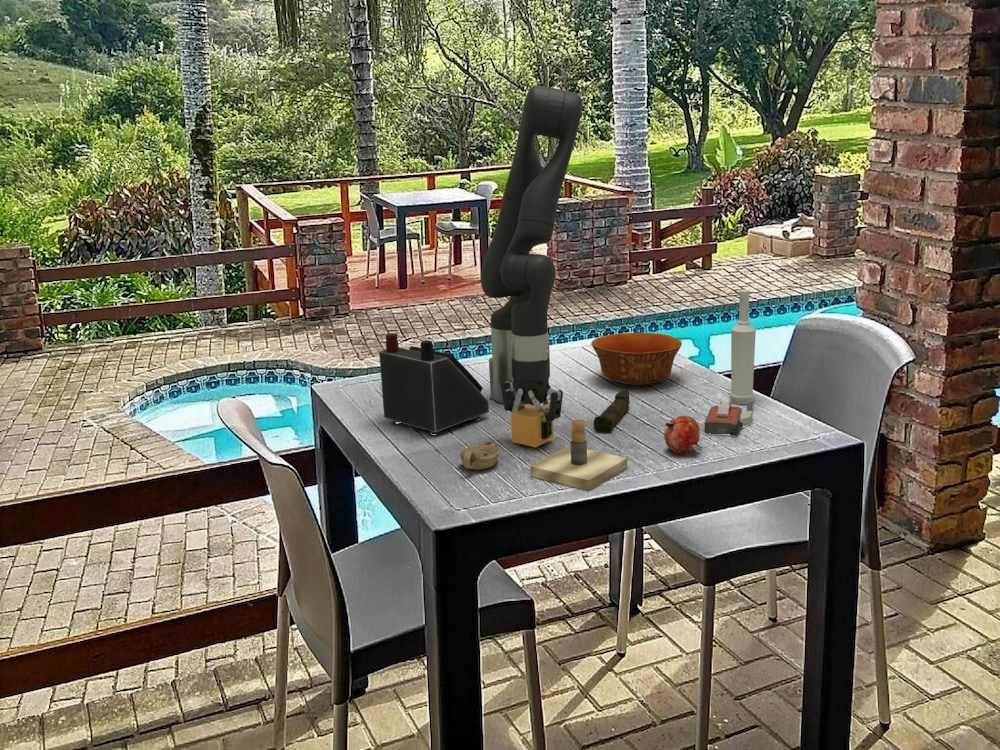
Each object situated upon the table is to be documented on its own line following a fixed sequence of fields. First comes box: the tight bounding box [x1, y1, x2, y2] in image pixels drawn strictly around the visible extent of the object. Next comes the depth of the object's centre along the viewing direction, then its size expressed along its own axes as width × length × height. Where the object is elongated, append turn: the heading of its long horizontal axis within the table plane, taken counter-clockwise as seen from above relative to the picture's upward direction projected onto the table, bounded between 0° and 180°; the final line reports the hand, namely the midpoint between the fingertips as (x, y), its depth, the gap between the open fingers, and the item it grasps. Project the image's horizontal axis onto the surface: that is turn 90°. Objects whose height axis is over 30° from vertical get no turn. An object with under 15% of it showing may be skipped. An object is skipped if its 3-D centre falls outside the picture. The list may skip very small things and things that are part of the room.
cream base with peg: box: [529, 418, 628, 491], centre depth 195 cm, size 13×13×10 cm
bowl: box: [590, 332, 683, 386], centre depth 250 cm, size 21×21×10 cm
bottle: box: [729, 289, 757, 405], centre depth 229 cm, size 5×5×25 cm
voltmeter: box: [378, 333, 490, 435], centre depth 226 cm, size 16×16×20 cm
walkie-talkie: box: [703, 401, 754, 436], centre depth 220 cm, size 9×4×20 cm
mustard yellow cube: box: [510, 404, 555, 448], centre depth 211 cm, size 6×6×6 cm
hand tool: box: [593, 388, 631, 434], centre depth 224 cm, size 19×4×5 cm, turn 155°
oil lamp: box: [459, 441, 500, 471], centre depth 201 cm, size 13×8×5 cm, turn 157°
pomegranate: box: [663, 415, 703, 455], centre depth 204 cm, size 7×7×10 cm
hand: (532, 434), depth 211 cm, fingers closed on mustard yellow cube, 6 cm apart
